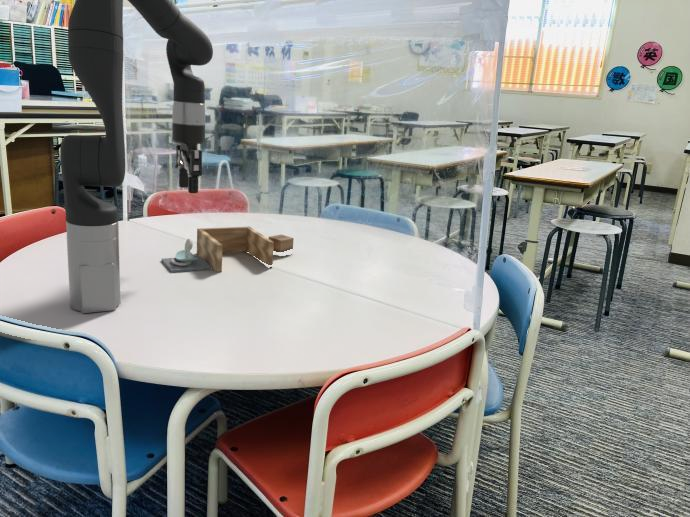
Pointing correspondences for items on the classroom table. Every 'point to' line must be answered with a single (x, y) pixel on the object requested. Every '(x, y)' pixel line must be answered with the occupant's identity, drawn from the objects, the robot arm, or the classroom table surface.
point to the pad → (194, 265)
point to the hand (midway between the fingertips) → (188, 190)
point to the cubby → (232, 244)
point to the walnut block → (282, 243)
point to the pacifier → (184, 255)
